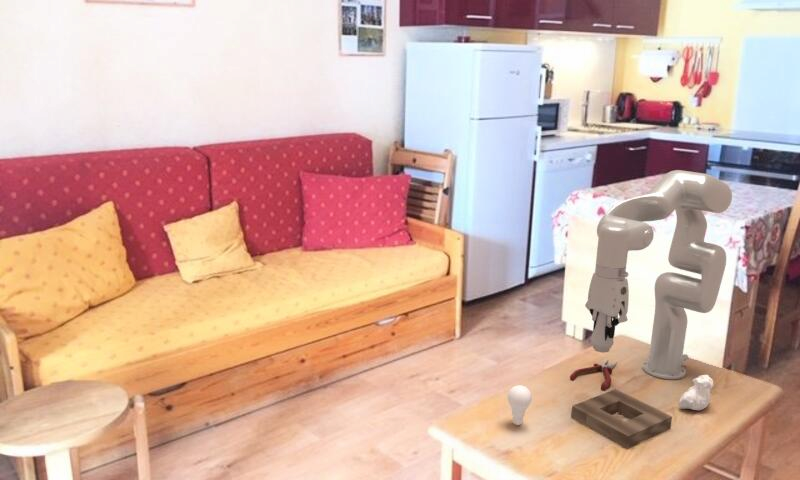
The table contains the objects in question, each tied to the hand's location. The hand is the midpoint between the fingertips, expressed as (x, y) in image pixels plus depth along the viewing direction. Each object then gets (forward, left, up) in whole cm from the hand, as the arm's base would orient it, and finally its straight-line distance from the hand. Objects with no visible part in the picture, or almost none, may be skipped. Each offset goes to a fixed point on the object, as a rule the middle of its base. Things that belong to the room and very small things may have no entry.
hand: (603, 336), depth 181 cm
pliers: (-19, -13, -23) cm, 32 cm away
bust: (-26, +14, -22) cm, 37 cm away
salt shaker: (0, 0, -4) cm, 4 cm away
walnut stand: (-1, +8, -22) cm, 23 cm away
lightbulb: (+23, -6, -22) cm, 33 cm away
